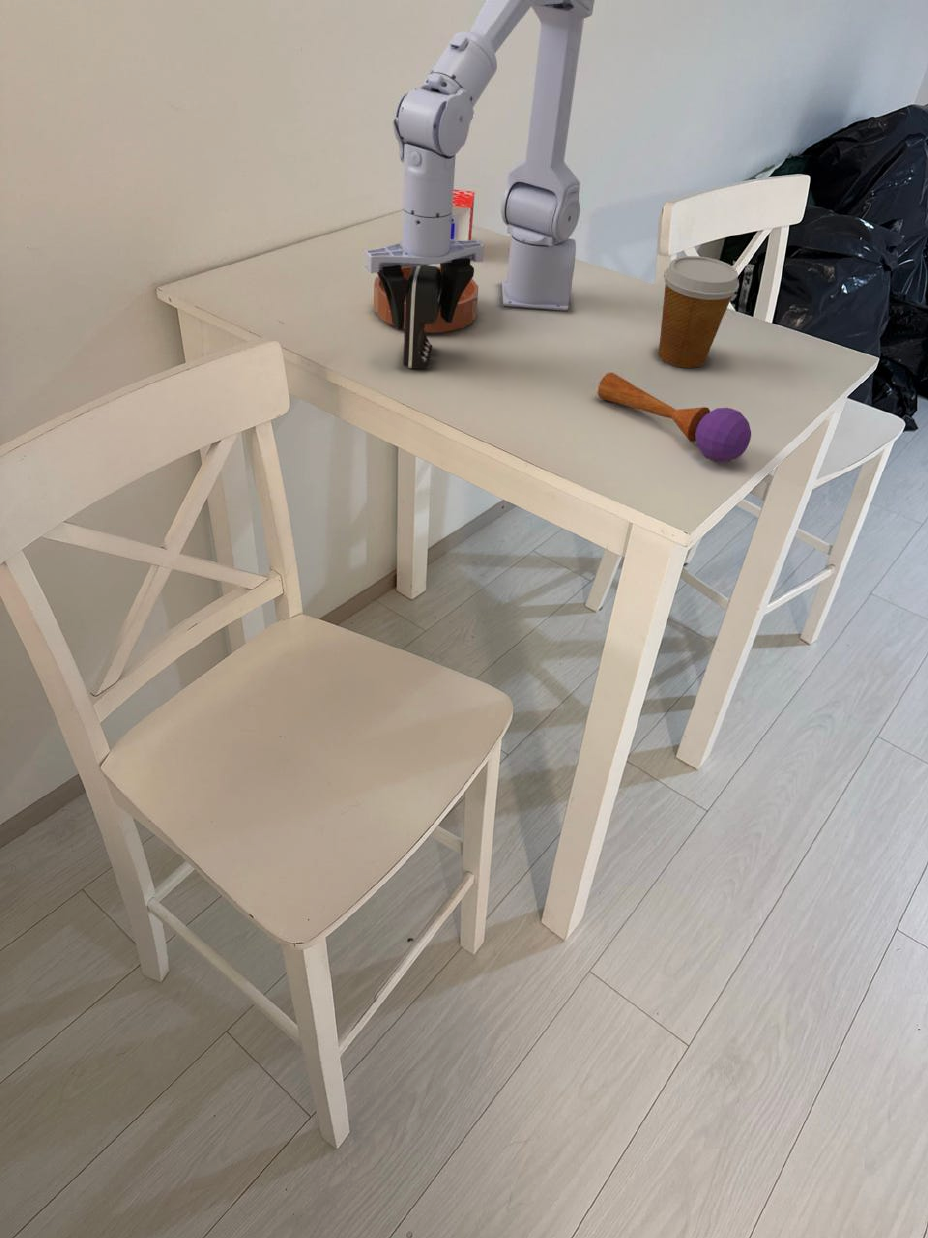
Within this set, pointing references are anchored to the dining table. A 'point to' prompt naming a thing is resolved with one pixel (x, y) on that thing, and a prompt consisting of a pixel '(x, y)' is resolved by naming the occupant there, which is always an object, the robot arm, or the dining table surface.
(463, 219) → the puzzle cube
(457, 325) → the bowl
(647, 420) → the dining table surface
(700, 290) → the disposable coffee cup
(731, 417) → the kendama
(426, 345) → the battery charger
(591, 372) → the dining table surface
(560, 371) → the dining table surface
